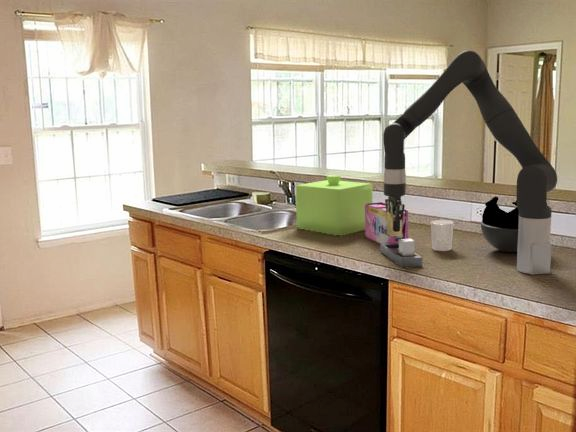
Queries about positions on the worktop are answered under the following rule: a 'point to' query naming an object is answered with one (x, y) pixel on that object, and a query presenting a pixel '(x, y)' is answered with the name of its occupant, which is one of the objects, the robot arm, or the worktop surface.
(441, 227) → the white cup
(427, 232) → the worktop surface
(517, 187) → the robot arm
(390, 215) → the pale yellow block
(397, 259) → the gray slotted tray
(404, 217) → the gum box
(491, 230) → the bowl of black rocks
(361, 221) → the canister
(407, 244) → the white rectangular block
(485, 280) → the worktop surface
